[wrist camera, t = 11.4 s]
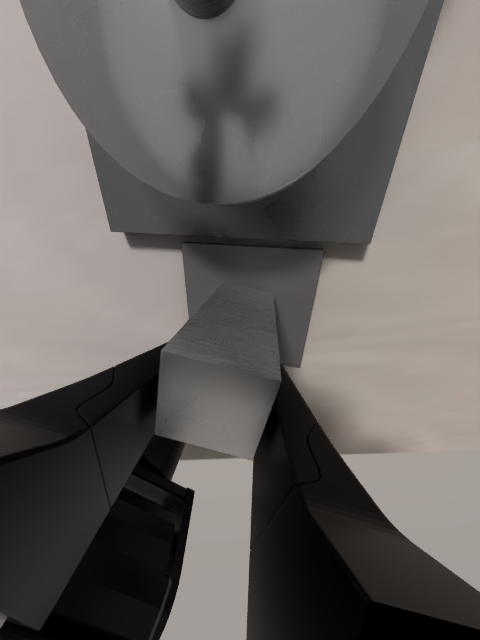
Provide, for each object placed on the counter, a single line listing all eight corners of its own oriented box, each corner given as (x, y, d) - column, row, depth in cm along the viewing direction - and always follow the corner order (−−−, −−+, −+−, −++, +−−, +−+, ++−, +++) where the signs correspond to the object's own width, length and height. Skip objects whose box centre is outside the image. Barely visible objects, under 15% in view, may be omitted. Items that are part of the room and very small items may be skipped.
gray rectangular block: (273, 293, 12) (281, 381, 5) (260, 337, 14) (252, 460, 6) (223, 281, 12) (160, 350, 5) (215, 326, 14) (154, 434, 6)
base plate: (363, 241, 11) (369, 244, 10) (122, 230, 13) (110, 231, 12) (557, -438, 5) (623, -592, 4) (11, -272, 6) (-32, -349, 5)
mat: (299, 362, 15) (299, 366, 15) (194, 349, 16) (192, 353, 16) (321, 249, 12) (323, 250, 11) (184, 241, 13) (181, 243, 12)
